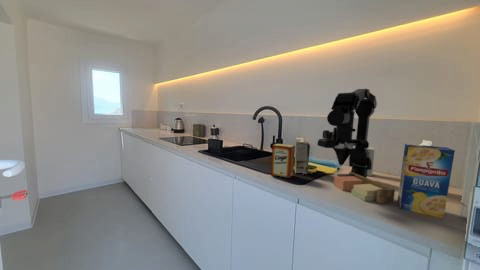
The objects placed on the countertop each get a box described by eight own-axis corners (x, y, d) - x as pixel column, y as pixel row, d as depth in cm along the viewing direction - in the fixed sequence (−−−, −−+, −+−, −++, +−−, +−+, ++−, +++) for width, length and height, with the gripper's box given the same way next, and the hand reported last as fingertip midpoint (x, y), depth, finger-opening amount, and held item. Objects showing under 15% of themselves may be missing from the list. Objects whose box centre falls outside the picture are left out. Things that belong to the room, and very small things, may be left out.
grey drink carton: (307, 175, 101) (310, 144, 99) (295, 173, 102) (297, 143, 101) (305, 170, 110) (307, 142, 108) (294, 169, 111) (295, 141, 109)
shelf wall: (351, 182, 92) (352, 172, 92) (393, 202, 72) (394, 189, 71) (339, 182, 91) (339, 172, 90) (378, 203, 71) (379, 190, 70)
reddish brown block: (351, 185, 89) (352, 176, 88) (361, 190, 83) (362, 180, 82) (333, 185, 87) (334, 176, 87) (342, 191, 81) (343, 181, 81)
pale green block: (369, 192, 80) (370, 183, 80) (384, 200, 74) (385, 190, 73) (351, 193, 78) (352, 184, 78) (364, 201, 72) (365, 191, 71)
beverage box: (397, 201, 73) (404, 143, 71) (437, 210, 67) (447, 147, 65) (399, 208, 67) (408, 146, 65) (444, 218, 61) (455, 150, 59)
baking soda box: (270, 175, 99) (272, 144, 97) (275, 172, 104) (277, 142, 102) (289, 179, 94) (291, 146, 92) (293, 175, 99) (295, 144, 97)
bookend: (345, 181, 94) (346, 171, 93) (352, 184, 89) (354, 174, 89) (330, 181, 92) (331, 171, 92) (337, 185, 88) (338, 174, 87)
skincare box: (371, 174, 107) (375, 147, 105) (372, 176, 102) (375, 149, 100) (354, 171, 112) (357, 145, 110) (353, 173, 106) (356, 147, 105)
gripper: (350, 124, 85) (346, 159, 86) (311, 123, 81) (308, 160, 83) (372, 126, 74) (367, 166, 75) (328, 125, 70) (324, 167, 72)
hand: (340, 164), depth 77 cm, fingers closed
